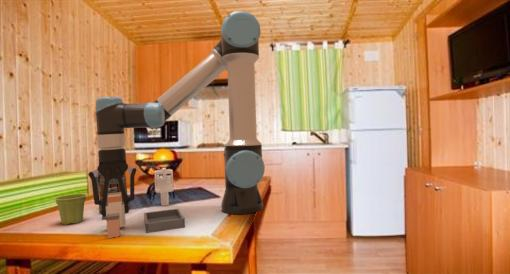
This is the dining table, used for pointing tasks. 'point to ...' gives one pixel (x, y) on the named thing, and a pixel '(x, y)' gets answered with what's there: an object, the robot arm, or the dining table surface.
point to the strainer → (164, 185)
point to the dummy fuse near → (113, 225)
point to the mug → (112, 184)
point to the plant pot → (71, 208)
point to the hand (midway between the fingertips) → (116, 225)
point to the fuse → (115, 205)
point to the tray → (163, 220)
